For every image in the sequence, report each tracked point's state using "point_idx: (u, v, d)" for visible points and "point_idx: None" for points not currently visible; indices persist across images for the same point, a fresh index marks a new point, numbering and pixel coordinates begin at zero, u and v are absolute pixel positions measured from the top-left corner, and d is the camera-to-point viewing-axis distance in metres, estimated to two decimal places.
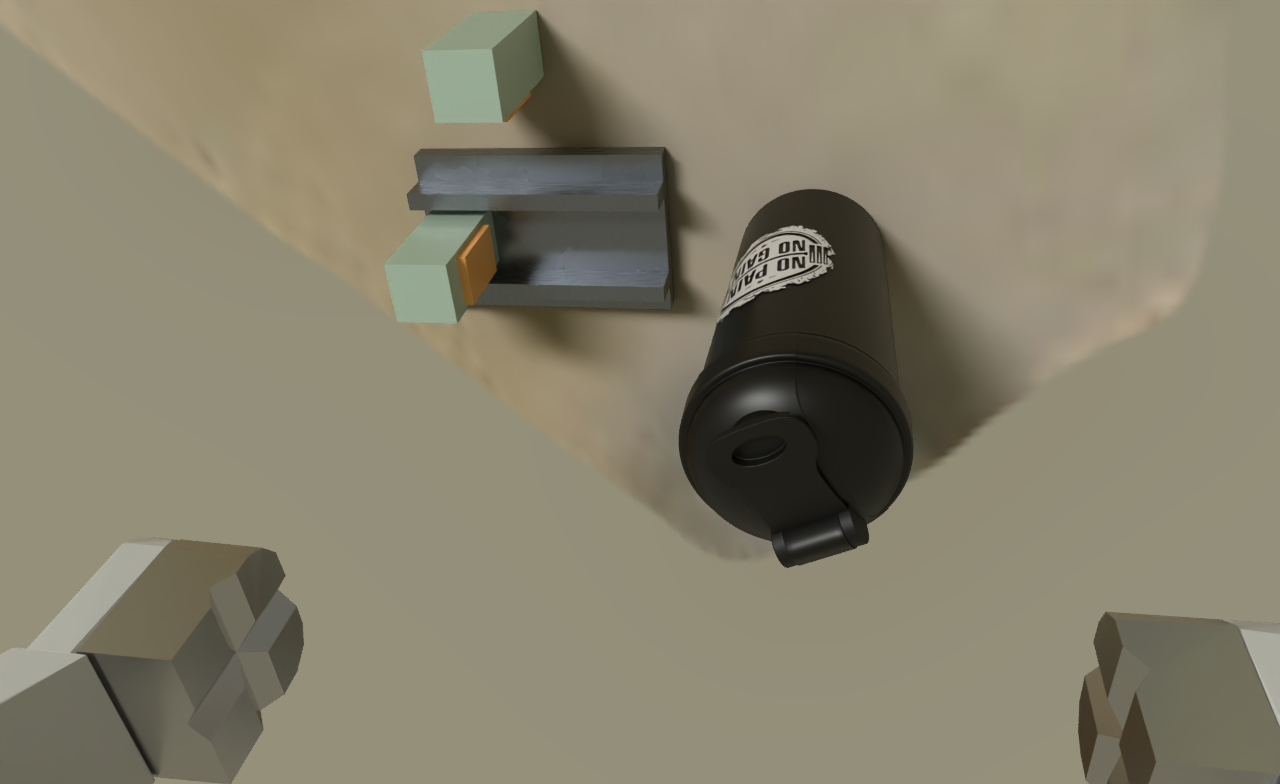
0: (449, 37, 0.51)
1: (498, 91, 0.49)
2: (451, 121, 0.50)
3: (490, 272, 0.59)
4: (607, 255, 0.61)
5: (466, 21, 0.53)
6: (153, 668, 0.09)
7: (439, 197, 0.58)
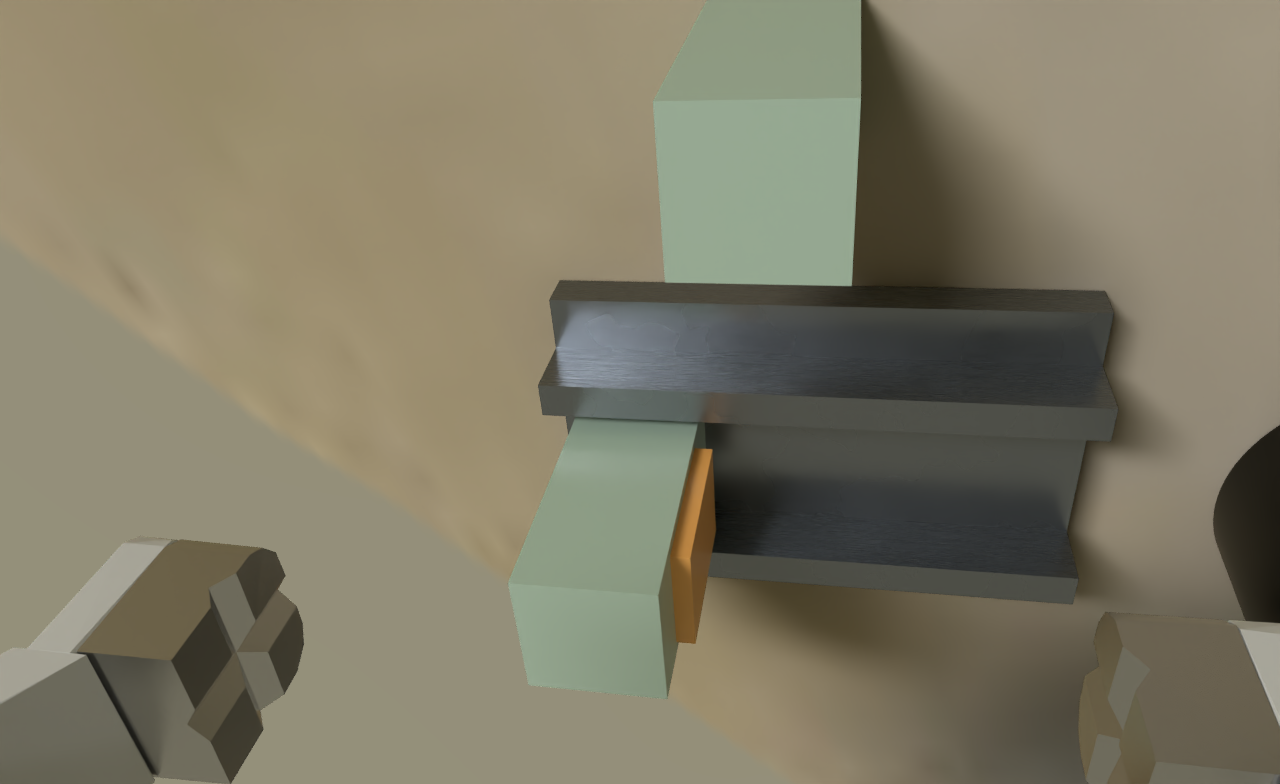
0: (701, 60, 0.20)
1: (855, 209, 0.18)
2: (709, 279, 0.19)
3: (710, 544, 0.28)
4: (939, 496, 0.30)
5: (710, 18, 0.22)
6: (153, 669, 0.09)
7: (609, 394, 0.27)
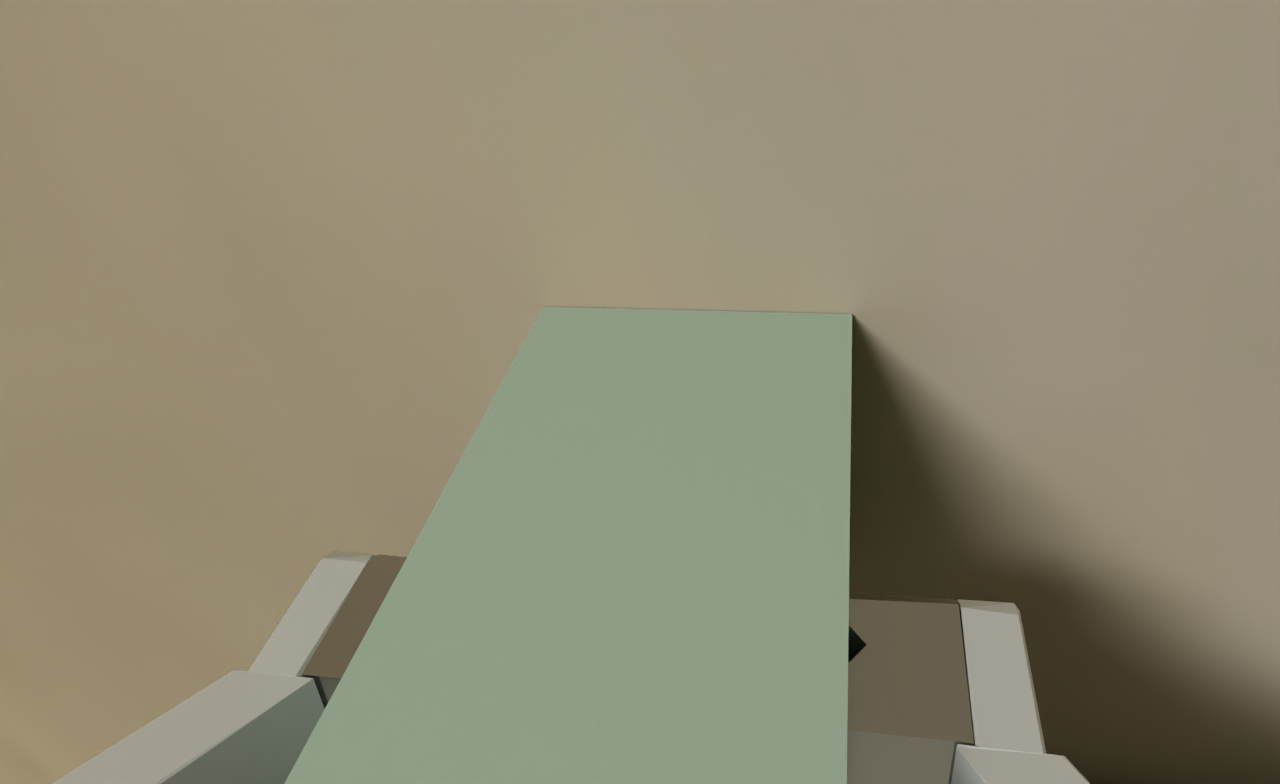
0: (418, 672, 0.07)
1: None
2: None
3: None
4: None
5: (517, 409, 0.10)
6: None
7: None
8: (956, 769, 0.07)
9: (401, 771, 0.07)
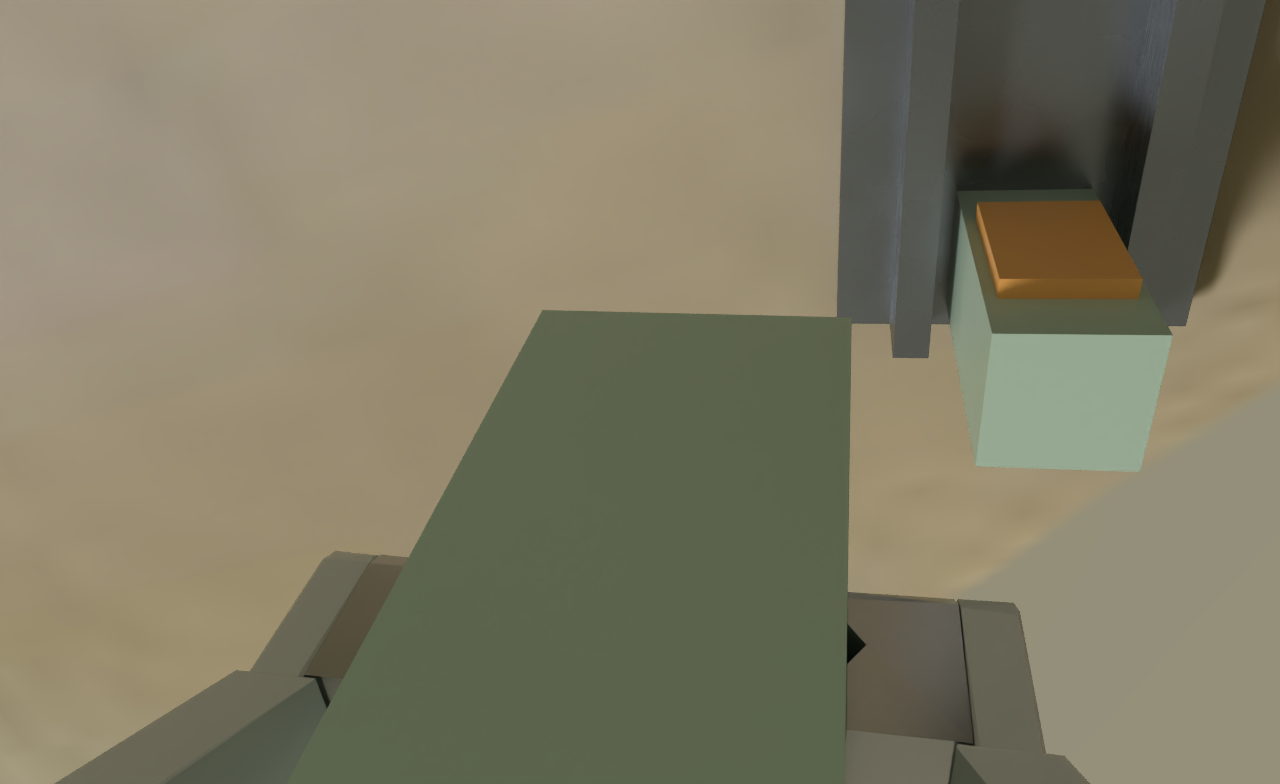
0: (417, 676, 0.07)
1: None
2: None
3: (1091, 217, 0.25)
4: None
5: (516, 413, 0.10)
6: None
7: (904, 296, 0.28)
8: (956, 769, 0.07)
9: (400, 776, 0.07)
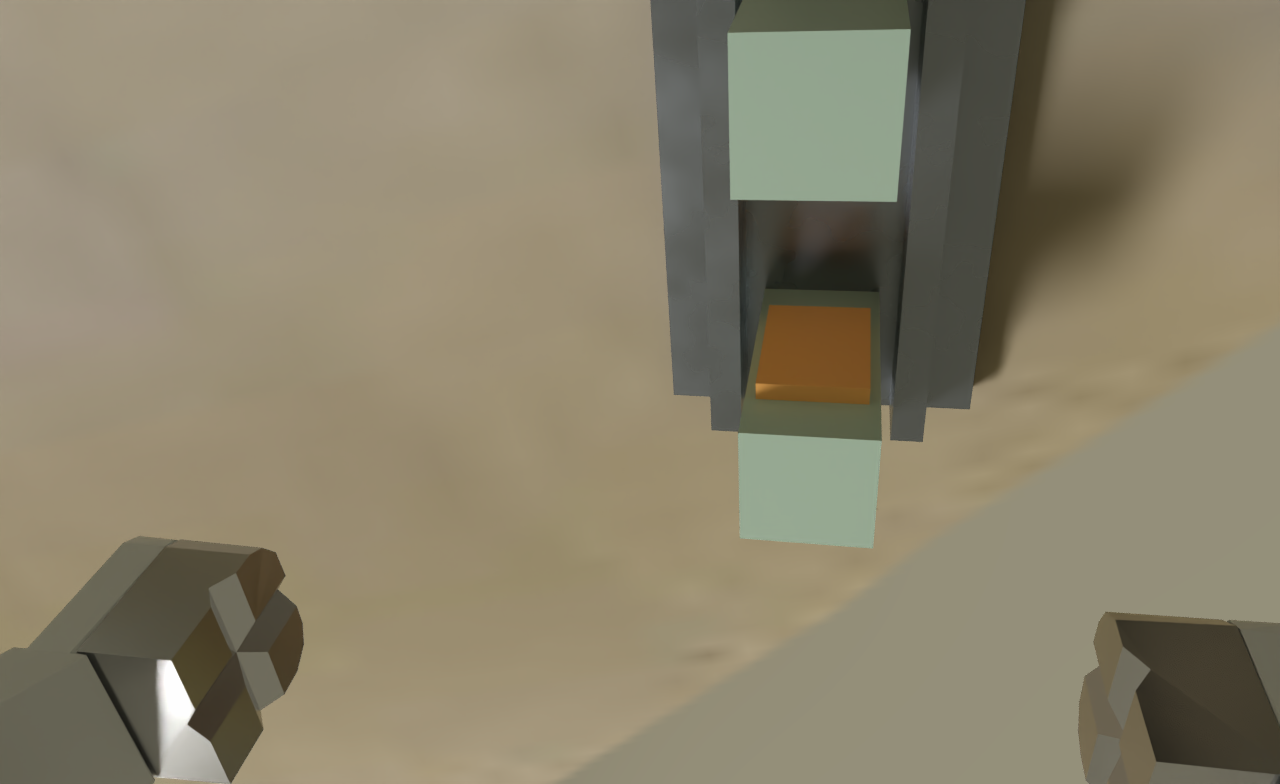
0: (765, 4, 0.22)
1: (902, 130, 0.21)
2: (770, 197, 0.22)
3: (855, 325, 0.29)
4: None
5: None
6: (153, 668, 0.09)
7: (716, 379, 0.32)
8: None
9: (770, 13, 0.21)
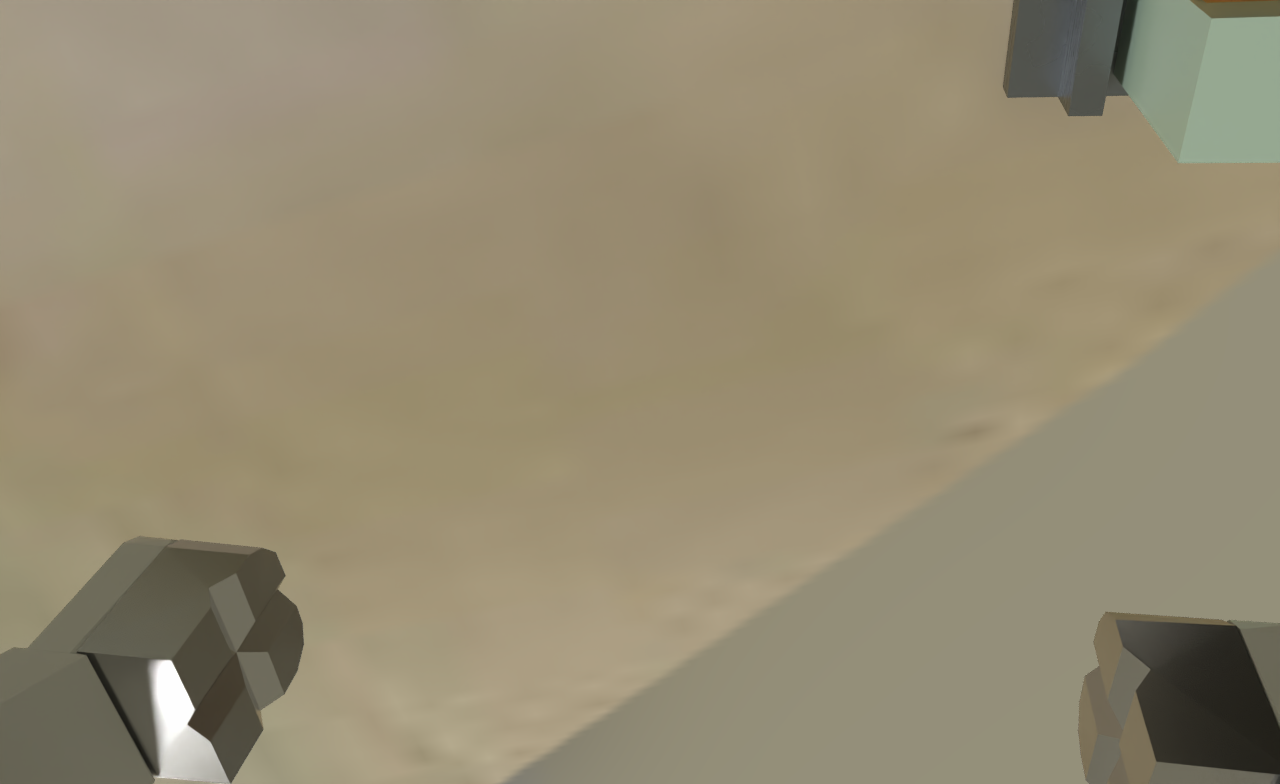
0: None
1: None
2: None
3: None
4: None
5: None
6: (153, 668, 0.09)
7: (1086, 50, 0.30)
8: None
9: None
